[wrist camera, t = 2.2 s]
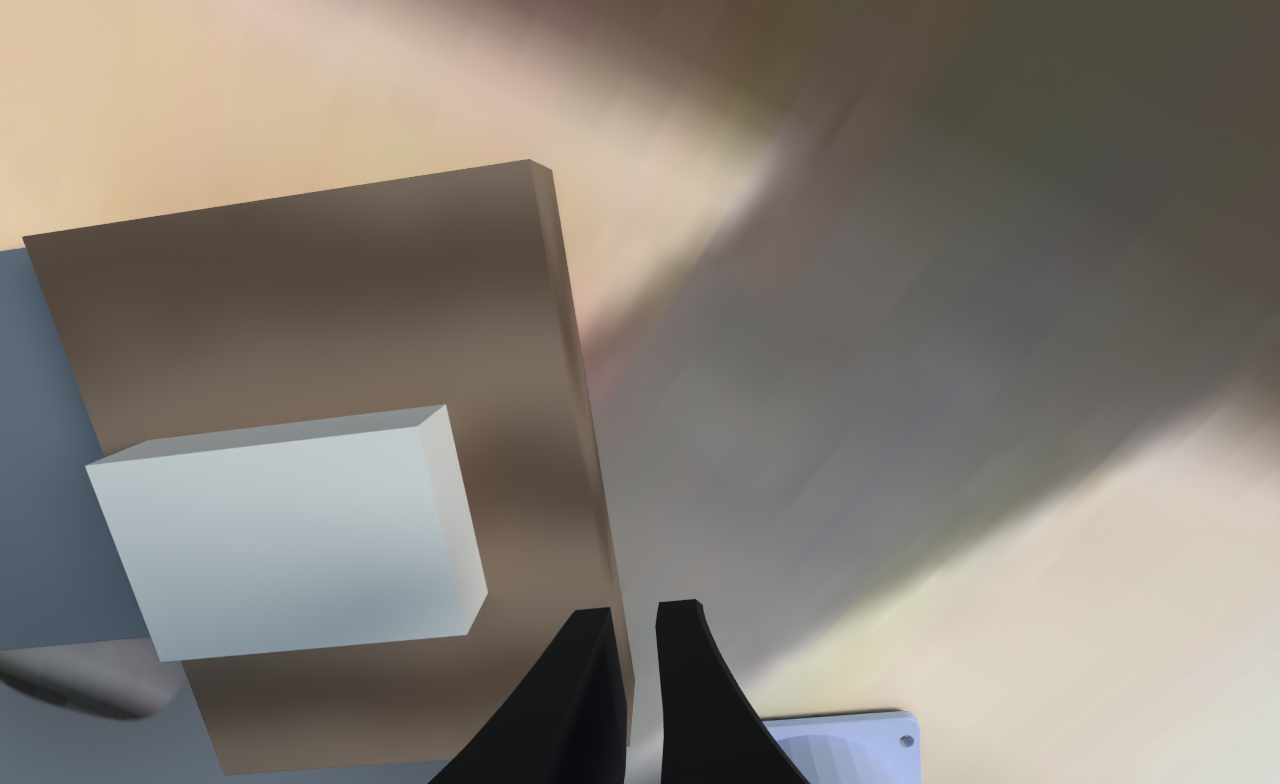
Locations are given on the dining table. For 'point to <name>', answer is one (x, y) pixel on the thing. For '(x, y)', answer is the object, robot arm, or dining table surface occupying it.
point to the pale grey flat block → (296, 534)
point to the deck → (360, 384)
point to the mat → (50, 488)
